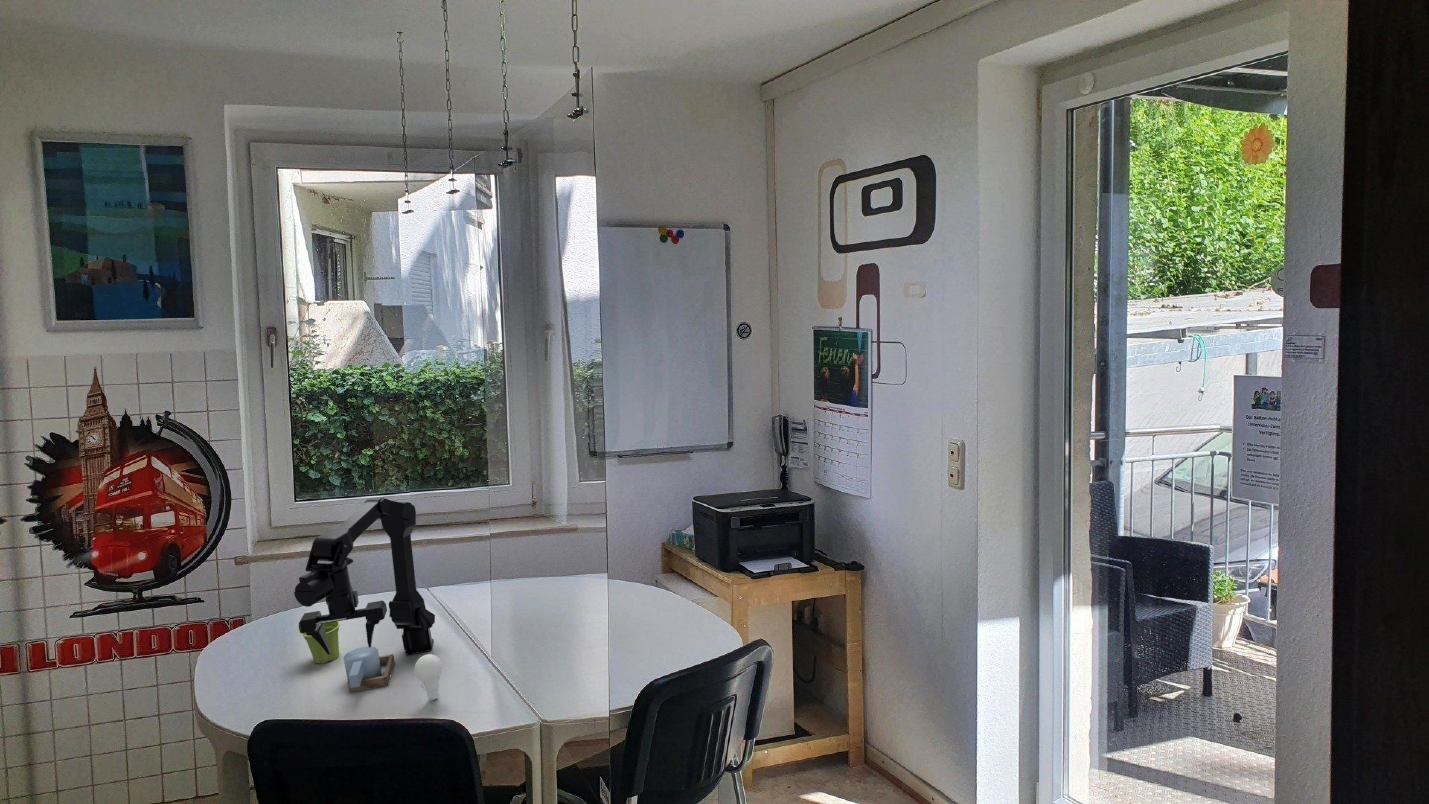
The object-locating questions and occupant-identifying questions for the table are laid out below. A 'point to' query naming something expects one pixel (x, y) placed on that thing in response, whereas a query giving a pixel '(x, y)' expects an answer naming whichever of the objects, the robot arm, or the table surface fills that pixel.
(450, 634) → the table surface
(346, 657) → the blue scoop
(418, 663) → the lightbulb
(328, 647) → the robot arm
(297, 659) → the table surface
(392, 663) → the holder
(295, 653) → the table surface
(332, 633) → the plant pot
